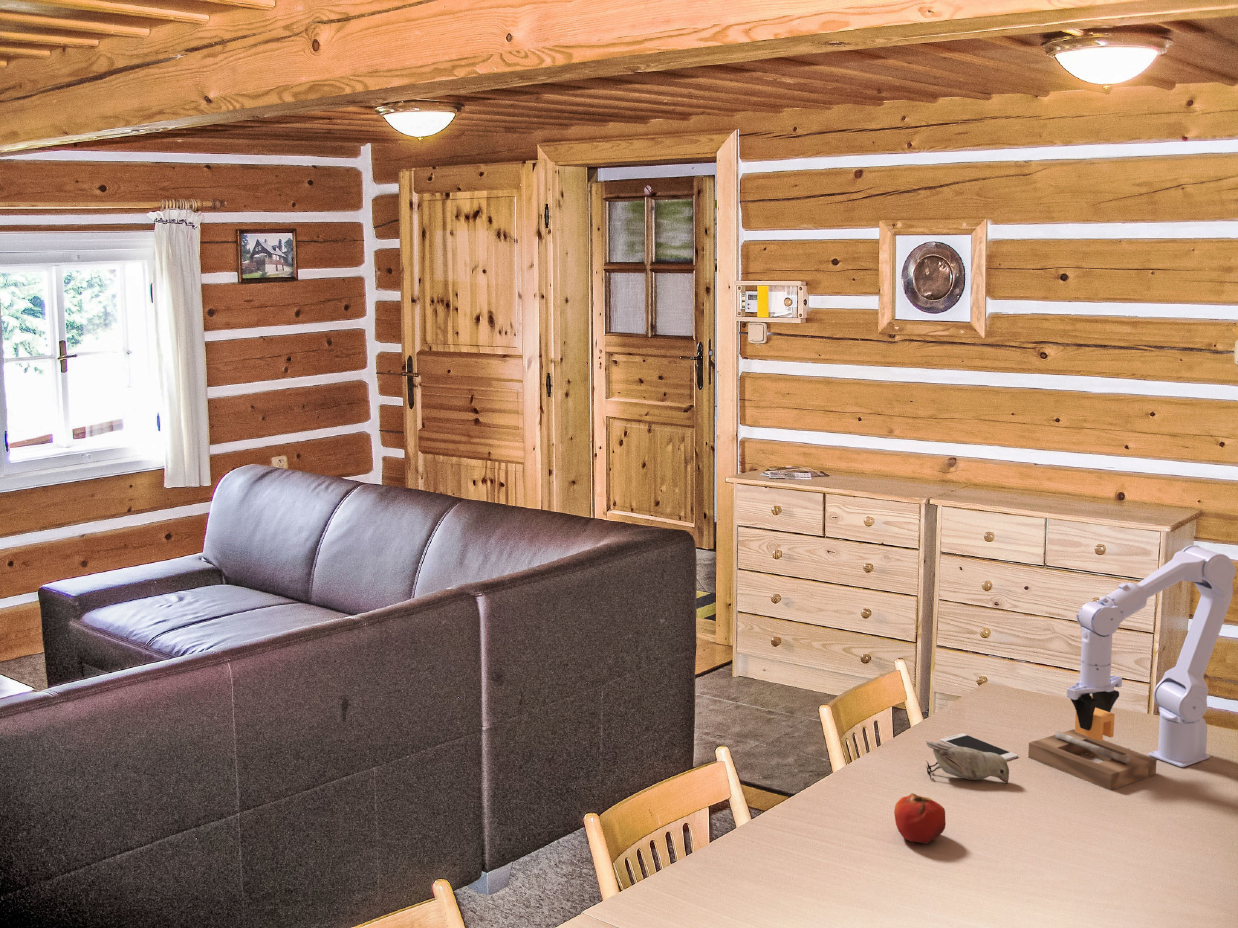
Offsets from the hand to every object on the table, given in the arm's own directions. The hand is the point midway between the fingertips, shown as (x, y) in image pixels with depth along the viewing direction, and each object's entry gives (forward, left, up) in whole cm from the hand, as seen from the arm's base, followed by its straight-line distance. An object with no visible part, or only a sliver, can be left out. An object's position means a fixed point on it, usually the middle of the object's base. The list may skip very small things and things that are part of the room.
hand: (1092, 726), depth 255 cm
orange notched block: (0, 0, -2) cm, 2 cm away
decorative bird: (+26, -9, -9) cm, 29 cm away
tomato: (+53, +5, -9) cm, 54 cm away
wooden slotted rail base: (0, 0, -8) cm, 8 cm away
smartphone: (+12, -19, -9) cm, 24 cm away
